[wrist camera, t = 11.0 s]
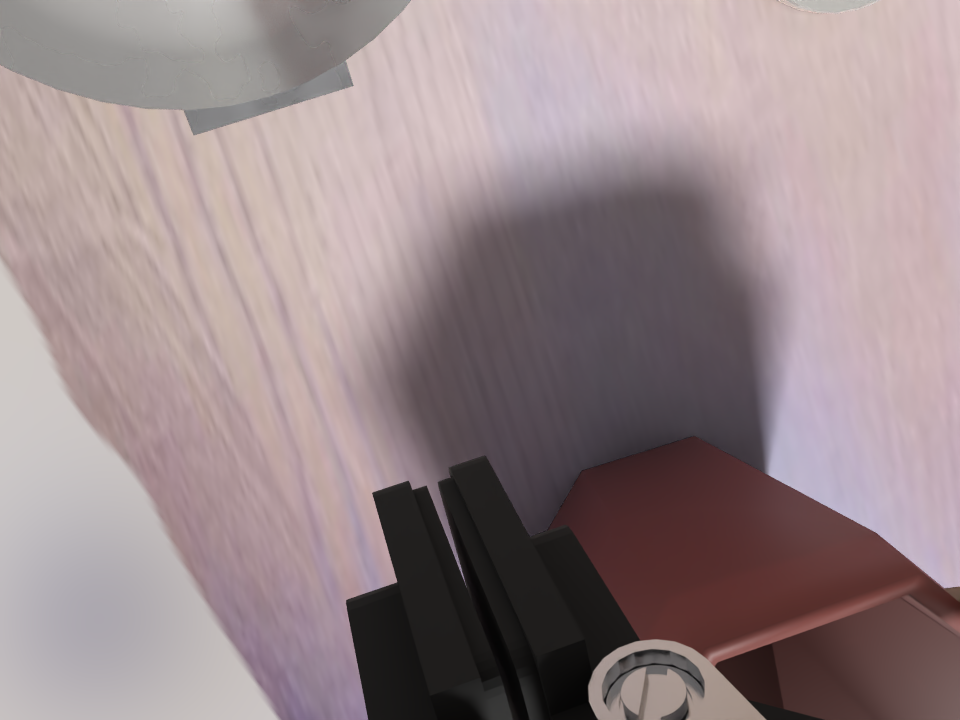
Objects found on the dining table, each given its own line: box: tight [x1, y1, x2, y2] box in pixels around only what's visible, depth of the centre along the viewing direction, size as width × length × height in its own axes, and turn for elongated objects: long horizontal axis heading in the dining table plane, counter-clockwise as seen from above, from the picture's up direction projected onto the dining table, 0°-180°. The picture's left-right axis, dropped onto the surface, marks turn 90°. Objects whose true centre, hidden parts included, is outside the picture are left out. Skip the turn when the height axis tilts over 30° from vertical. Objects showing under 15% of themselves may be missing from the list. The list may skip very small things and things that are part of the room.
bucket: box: [547, 436, 960, 720], centre depth 47 cm, size 24×22×25 cm
